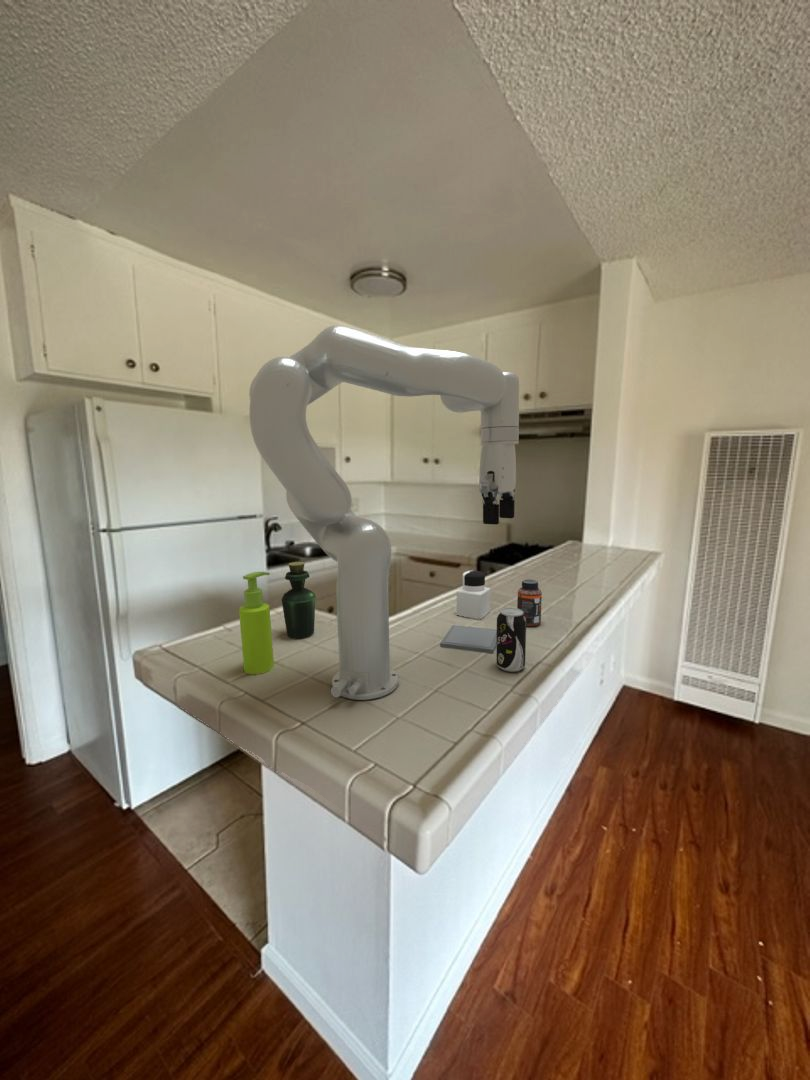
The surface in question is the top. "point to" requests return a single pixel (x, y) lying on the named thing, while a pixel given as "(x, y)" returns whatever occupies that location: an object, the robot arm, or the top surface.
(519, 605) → the supplement bottle
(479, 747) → the top surface
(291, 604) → the potion bottle
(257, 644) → the soap dispenser
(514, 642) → the beverage can
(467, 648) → the plate
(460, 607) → the medicine bottle
